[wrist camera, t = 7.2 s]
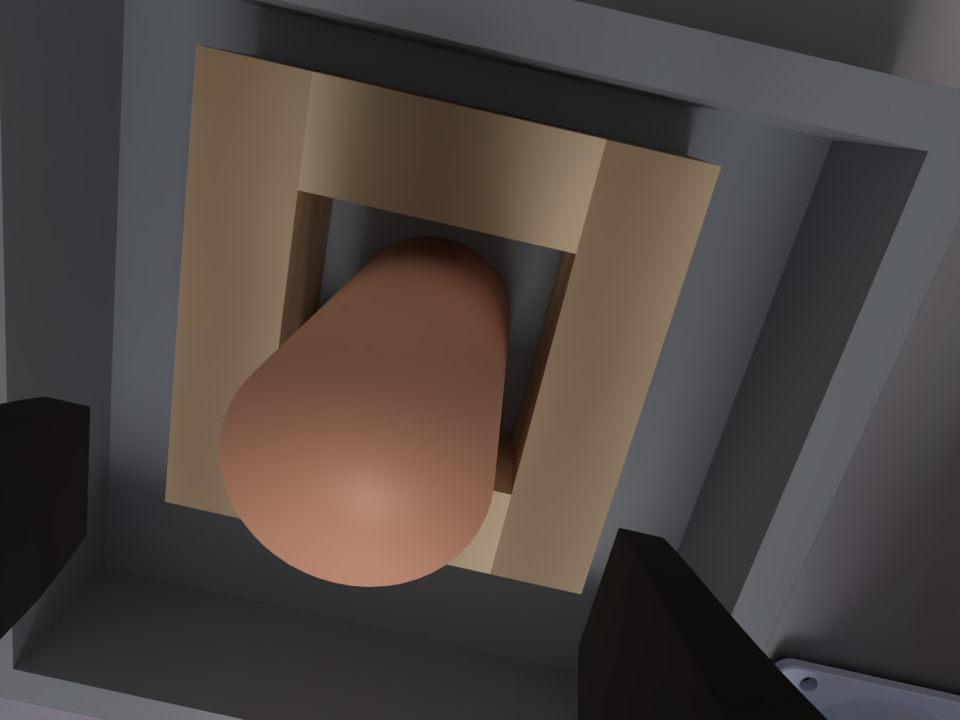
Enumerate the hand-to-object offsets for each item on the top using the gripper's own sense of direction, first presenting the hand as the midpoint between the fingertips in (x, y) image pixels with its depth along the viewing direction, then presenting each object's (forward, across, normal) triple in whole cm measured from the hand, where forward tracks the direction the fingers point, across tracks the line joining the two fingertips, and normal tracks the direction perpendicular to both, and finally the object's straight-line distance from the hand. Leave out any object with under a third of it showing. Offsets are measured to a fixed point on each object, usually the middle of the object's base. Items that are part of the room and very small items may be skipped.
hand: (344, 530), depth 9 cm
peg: (+9, 0, 0) cm, 9 cm away
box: (+9, 0, +2) cm, 10 cm away
